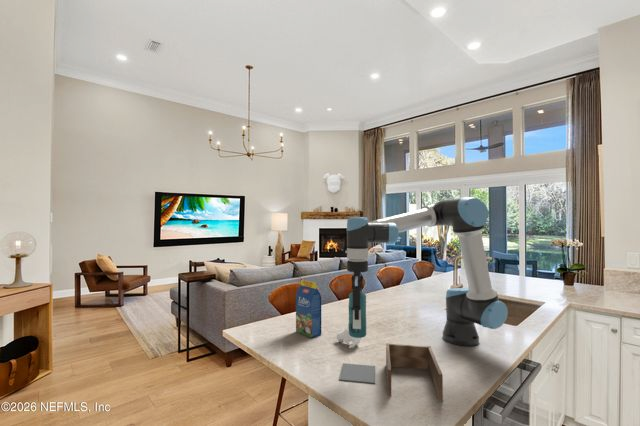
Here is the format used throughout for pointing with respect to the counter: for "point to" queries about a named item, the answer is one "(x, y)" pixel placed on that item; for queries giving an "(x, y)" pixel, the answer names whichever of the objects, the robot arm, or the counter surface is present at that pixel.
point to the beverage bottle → (361, 332)
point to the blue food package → (308, 309)
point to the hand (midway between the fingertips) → (357, 324)
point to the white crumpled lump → (347, 338)
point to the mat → (358, 373)
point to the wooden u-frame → (414, 363)
